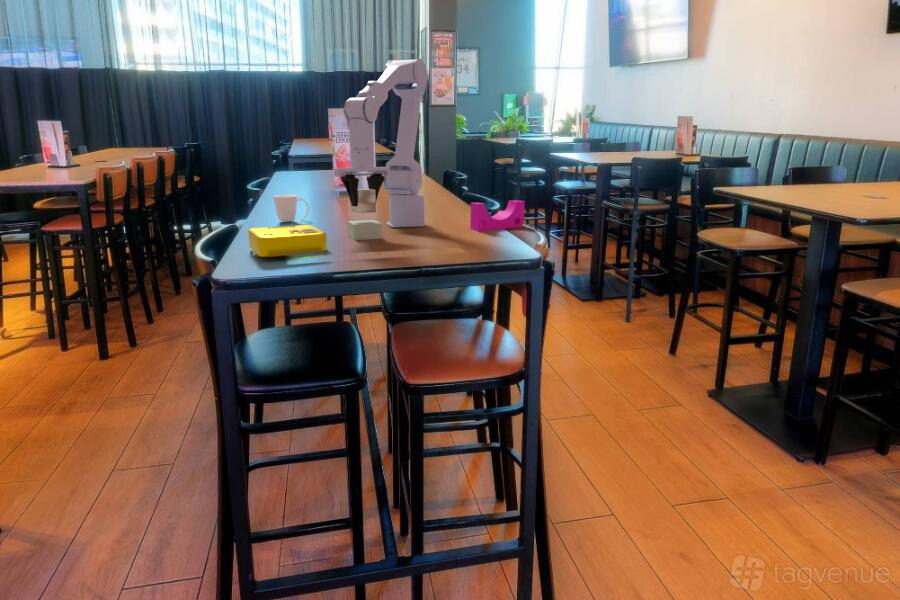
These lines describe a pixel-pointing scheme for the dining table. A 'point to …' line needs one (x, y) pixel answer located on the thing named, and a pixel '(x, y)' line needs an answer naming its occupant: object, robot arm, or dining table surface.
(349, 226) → the sage base block
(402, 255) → the dining table surface
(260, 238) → the element tile
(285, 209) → the cup
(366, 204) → the ash block
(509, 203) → the toy block
